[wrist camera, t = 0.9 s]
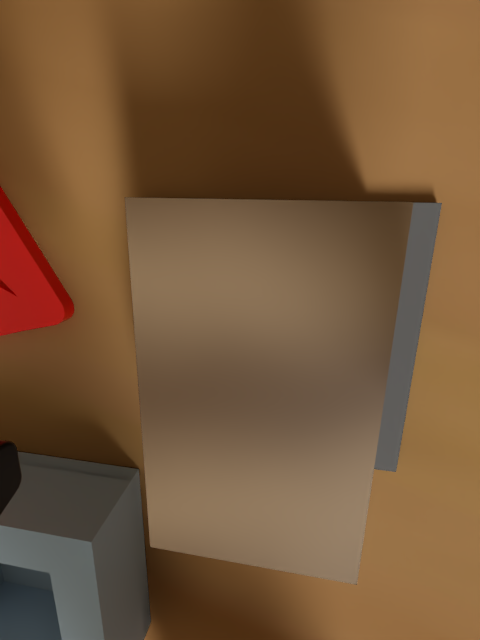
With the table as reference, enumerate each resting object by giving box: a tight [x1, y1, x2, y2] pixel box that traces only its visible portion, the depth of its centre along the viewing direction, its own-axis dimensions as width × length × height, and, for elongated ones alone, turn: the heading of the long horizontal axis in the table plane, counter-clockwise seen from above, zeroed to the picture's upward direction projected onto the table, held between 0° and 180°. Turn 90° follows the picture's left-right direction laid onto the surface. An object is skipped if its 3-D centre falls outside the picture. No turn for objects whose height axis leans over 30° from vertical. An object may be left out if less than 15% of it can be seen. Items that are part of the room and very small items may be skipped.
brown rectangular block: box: [125, 197, 414, 585], centre depth 12 cm, size 10×6×5 cm, turn 179°
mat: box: [374, 203, 442, 472], centre depth 14 cm, size 10×10×1 cm
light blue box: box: [0, 451, 151, 640], centre depth 18 cm, size 10×10×4 cm
